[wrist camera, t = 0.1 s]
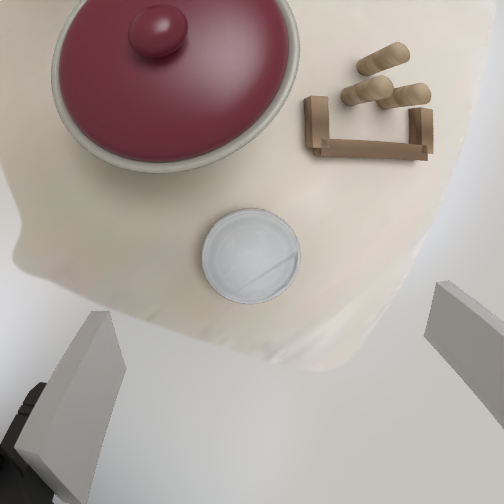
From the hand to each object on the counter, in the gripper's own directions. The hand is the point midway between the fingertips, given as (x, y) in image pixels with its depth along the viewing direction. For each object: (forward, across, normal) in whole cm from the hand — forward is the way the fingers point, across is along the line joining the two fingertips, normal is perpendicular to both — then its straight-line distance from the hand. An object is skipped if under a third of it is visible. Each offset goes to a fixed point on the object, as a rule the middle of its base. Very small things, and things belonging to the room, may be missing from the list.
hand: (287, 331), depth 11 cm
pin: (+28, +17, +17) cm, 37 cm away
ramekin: (+28, +1, -6) cm, 29 cm away
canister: (+28, -5, +14) cm, 32 cm away
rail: (+28, +17, +9) cm, 34 cm away
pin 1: (+28, +14, +13) cm, 34 cm away
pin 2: (+28, +19, +13) cm, 36 cm away
